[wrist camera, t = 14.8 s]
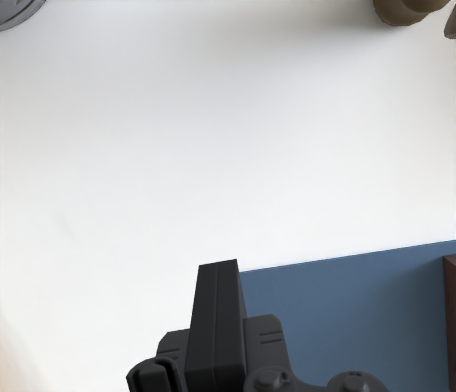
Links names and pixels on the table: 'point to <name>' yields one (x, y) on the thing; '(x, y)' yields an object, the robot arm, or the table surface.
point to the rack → (450, 315)
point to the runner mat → (361, 315)
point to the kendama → (413, 13)
